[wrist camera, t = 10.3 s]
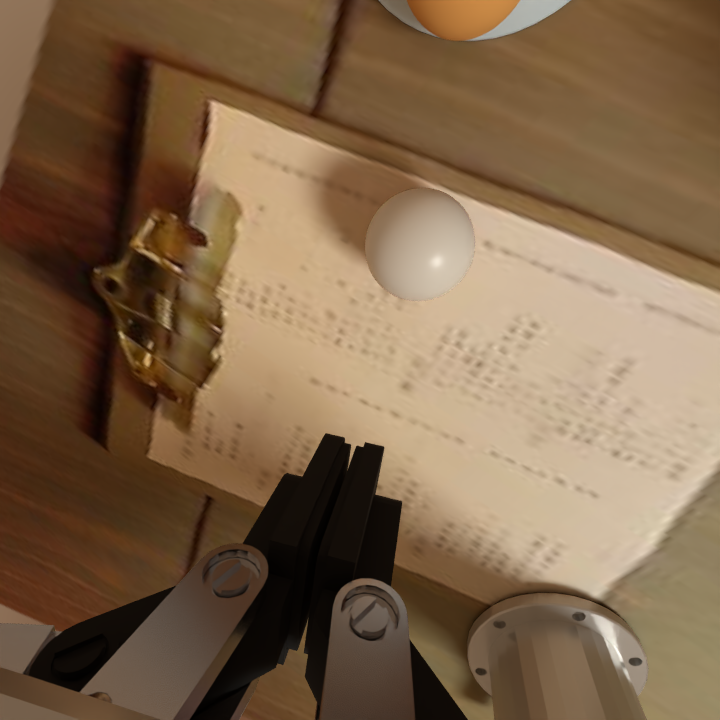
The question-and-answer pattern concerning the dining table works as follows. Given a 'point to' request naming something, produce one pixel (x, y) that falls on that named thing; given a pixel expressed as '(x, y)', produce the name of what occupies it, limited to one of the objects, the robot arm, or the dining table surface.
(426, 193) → the cue ball
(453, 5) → the object ball
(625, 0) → the dining table surface
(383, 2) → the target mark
